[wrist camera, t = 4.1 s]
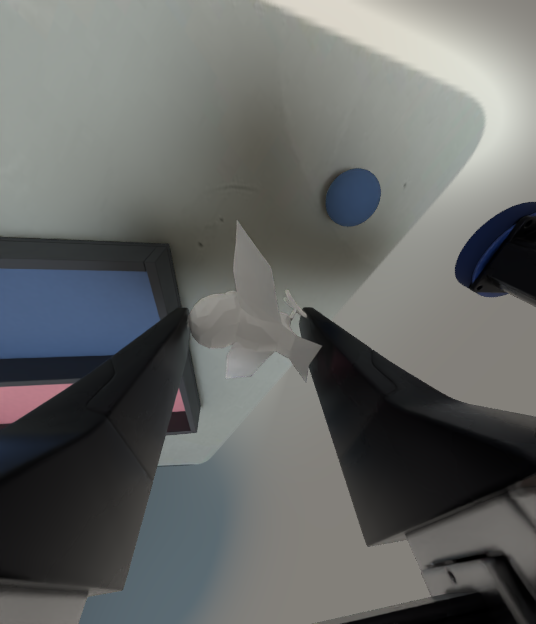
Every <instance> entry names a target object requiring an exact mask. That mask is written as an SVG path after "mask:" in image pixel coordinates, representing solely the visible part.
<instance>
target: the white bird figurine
mask: <svg viewBox="0 0 536 624" xmlns="http://www.w3.org/2000/svg"><path fill="white" fill-rule="evenodd" d="M233 274H234V279H235V283H236V292H235V291H228V292H226V293H225V294H222V293H219V294H212V295H209V296H207V297H204V298H202V299H200V300H199V301H198V302H197V303H196V304H195V305H194V307H193V308H192V310H191V312H190V313H189V315H188V319H187V322H188V325H187V328H188V327H190V330H191V333H192V336H193V337H194V339H195V340H196V341H197V342H198V343H199V344H201V345H203V346H206V347H208V348H224V347H226V346H229V345H231V344H232V346H231V349H230V351H229V353H228V355H227V367H226V378H225V379H228V378H238V377H249V376H252V375H253V374H254V373H255V372H256V371H257V370H258V368H259V367H260V366H261V365H262V364H263V363H264V362H265V360H266V359H267V358H268V357H269V356H270V355H272V354H273V353H274V352H275V351H276V352H278V353H280V354H281V355H283V356H285V357H287V358H289V360H290V361H291V362H292V364H293V365H294V367H295V368H296V369H297V371H298V372H299V374H300V375H301V376H302V378H303V379H304V381H305V382H306V381H307V375H308V368H309V364H310V363H311V362H312V360H313V359H314V357H315V356H316V354H317V353H318V351H319V350H320V348H321V347H322V346H321V345H319V344H316V343H314V342H311V341H308V340H306V339H303V338H301V337H298V336H297V335H296V334H295V333H294V332H293V331H292V329H291V328H290V324H291V321H292V319H293V317H294V315H295V313H298V314H300V315H302V316H303V317H305V318H307V314H306V313H305V312H304V311H302V310H301V309H300V307H299V306H298V305H297V303H296V302H295V301H294V299H293V298H292V296H291V294H290V292H289V290H288V289H287V290H285V293H286V295H287V297H288V299H289V300H290V301H289V300H288V299H287V297H285V298H283V299H284V301H285V302H286V303H287V304H288V305H289V306H290V307H292V308H293V311H292V313H291V314H290V316H289V315H288V314H286V313H283V312H280V311H279V309H278V303H277V297H276V291H275V285H274V279H273V273H272V268H271V267H270V265H269V264H268V262H267V261H266V260H265V258H264V257H263V255H262V254H261V253H260V251H259V250H258V248H257V247H256V246H255V244H254V243H253V241H252V240H251V239H250V237H249V236H248V234H247V233H246V232H245V230H244V229H243V227H242V226H241V225H240V223H239V222H238V220H237V228H236V245H235V255H234V263H233ZM187 322H186V323H187Z"/></svg>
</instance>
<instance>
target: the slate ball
mask: <svg viewBox="0 0 536 624" xmlns="http://www.w3.org/2000/svg"><path fill="white" fill-rule="evenodd" d="M380 196H381V189H380V184H379V182H378V180H377V178H376V177H375V175H374V174H373V173H371V172H370V171H368V170H365V169H361V168H356V169H351V170H348V171H345V172H343V173H342V174H340V175H339V176H338V177H337V178H336V179H335V180H334V181H333V182H332V184H331V185H330V187H329V189H328V192H327V195H326V210H327V213H328V215H329V217H330V218H331V219H332V220H333V221H334V222H335V223H337V224H339V225H341V226H347V227H348V226H355V225H358V224H361V223H363V222H364V221H366V220H367V219H368V218H369V217H370V216H371V215H372V214H373V213H374V212H375V210H376V208H377V206H378V204H379V201H380Z"/></svg>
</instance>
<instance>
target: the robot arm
mask: <svg viewBox="0 0 536 624" xmlns="http://www.w3.org/2000/svg"><path fill="white" fill-rule="evenodd" d="M470 290H472V291H474V292H478V293H509V294H511V295H513V296H515V297H517V298H519V299H521V300H523V301H525V302H527V303H529V304H531V305H533V306H535V307H536V216H525V217H523V218H521V219H520V220H519V221H518V222H517V224H516V225H515V226H514V228H513V229H512V230H511V232H510V233H509V234H508V236H507V237H506V239H505V240H504V241H503V243H502V244H501V245H500V247H499V248H498V249H497V251H496V252H495V254H494V255H493V256H492V258H491V259H490V260H489V262H488V263H487V264H486V266H485V267H484V269H483V270H482V271H481V273H480V274H479V275H478V277H477V278H476V279H475V281H474V282H473V284H472V285H471V287H470ZM302 311H304V312H305V313H306V314H307V318H305V317H303V316H302V315H301V317H300V322H299V327H300V332H301V337H302V338H303V339H306V340H308V341H311V342H314V343H316V344H319V345H321V346H322V347H321V348H320V350H319V351H318V353H317V354H316V356H315V357H314V359H313V360H312V362H311V363H310V364H309V369H310V372H311V375H312V378H313V382H314V385H315V388H316V391H317V394H318V397H319V400H320V403H321V406H322V409H323V412H324V415H325V418H326V422H327V425H328V427H329V431H330V434H331V437H332V440H333V443H334V446H335V449H336V453H337V456H338V458H339V462H340V465H341V468H342V471H343V475H344V478H345V480H346V484H347V487H348V490H349V493H350V496H351V499H352V502H353V505H354V508H355V511H356V515H357V518H358V520H359V524H360V527H361V530H362V533H363V536H364V539H365V542H366V545H367V546H368V547H370V546H375V545H381V544H386V543H392V542H398V541H403V540H407V541H408V543H409V545H410V547H411V550H412V552H413V554H414V556H415V559H416V561H417V563H418V565H419V567H420V570H421V574H422V576H423V578H424V581H425V583H426V585H427V588H428V590H429V592H430V595H431V597H429V598H424V599H420V600H416V601H411V602H407V603H402V604H398V605H394V606H389V607H385V608H380V609H376V610H371V611H367V612H362V613H358V614H353V615H349V616H345V617H340V618H336V619H331V620H327V621H323V622H318V623H314V624H536V417H534V416H529V415H524V414H518V413H514V412H508V411H503V410H498V409H492V408H487V407H482V406H476V405H471V404H467V403H464V402H461V401H458V400H455V399H453V398H451V397H448V396H446V395H445V394H443V393H441V392H439V391H438V390H436V389H434V388H433V387H431V386H429V385H428V384H426V383H424V382H423V381H421V380H419V379H418V378H416V377H414V376H413V375H411V374H409V373H408V372H406V371H405V370H403V369H401V368H400V367H398V366H397V365H395V364H393V363H392V362H390V361H389V360H387V359H386V358H384V357H383V356H381V355H380V354H378V353H377V352H375V351H374V350H372V349H371V348H369V347H368V346H367V345H365V344H364V343H362V342H361V341H360V340H358V339H357V338H355V337H354V336H352V335H351V334H349V333H348V332H347V331H345V330H344V329H342V328H341V327H339V326H338V325H336V324H335V323H334V322H332V321H331V320H329V319H328V318H327V317H325V316H324V315H322V314H321V313H319V312H318V311H316V310H315V309H314V308H312V307H304V308H303V309H302ZM188 315H189V310H188V308H176V309H175V310H173V311H172V312H171V313H169V314H168V315H167V316H165V317H164V318H163V319H161V320H160V321H159V322H157V323H156V324H155V325H153V326H152V327H151V328H149V329H148V330H147V331H145V332H144V333H143V334H141V335H140V336H138V337H137V338H136V339H134V340H133V341H132V342H130V343H129V344H128V345H126V346H125V347H124V348H122V349H121V350H120V351H118V352H117V353H116V354H114V355H113V356H112V357H111V359H108V360H106V361H105V362H103V363H102V364H101V365H99V366H98V367H97V368H95V369H94V370H92V371H91V372H90V373H88V374H87V375H86V376H84V377H83V378H81V379H80V380H78V381H77V382H75V383H74V384H72V385H71V386H69V387H68V388H66V389H65V390H63V391H61V392H60V393H58V394H57V395H55V396H54V397H52V398H51V399H49V400H48V401H46V402H44V403H43V404H41V405H40V406H38V407H37V408H35V409H34V410H32V411H30V412H29V413H27V414H26V415H24V416H23V417H21V418H20V419H18V420H16V421H15V422H13V423H12V424H10V425H8V426H7V427H5V428H3V429H1V430H0V624H78V623H79V620H80V617H81V614H82V611H83V608H84V605H85V602H86V599H87V597H89V596H95V595H100V594H106V593H111V592H117V591H122V590H123V588H124V585H125V582H126V578H127V575H128V571H129V568H130V564H131V560H132V556H133V553H134V549H135V546H136V542H137V538H138V534H139V531H140V527H141V524H142V520H143V517H144V513H145V509H146V505H147V502H148V498H149V495H150V491H151V487H152V484H153V479H154V476H155V472H156V469H157V465H158V461H159V458H160V454H161V451H162V447H163V443H164V440H165V436H166V432H167V429H168V425H169V421H170V418H171V414H172V411H173V407H174V403H175V400H176V396H177V392H178V389H179V385H180V381H181V378H182V374H183V370H184V367H185V363H186V359H187V353H188V345H189V338H190V331H191V330H190V327H188V328H187V325H188V322H187V319H188ZM186 322H187V323H186Z"/></svg>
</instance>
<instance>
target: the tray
mask: <svg viewBox="0 0 536 624" xmlns="http://www.w3.org/2000/svg"><path fill="white" fill-rule="evenodd" d="M176 308H181V303H180V298H179V293H178V288H177V282H176V277H175V272H174V267H173V262H172V257H171V251H170V246H169V244H159V243H134V242H108V241H83V240H57V239H32V238H6V237H0V430H1V429H3V428H5V427H7V426H8V425H10V424H12V423H13V422H15V421H16V420H18V419H20V418H21V417H23V416H24V415H26V414H27V413H29V412H30V411H32V410H34V409H35V408H37V407H38V406H40V405H41V404H43V403H44V402H46V401H48V400H49V399H51V398H52V397H54V396H55V395H57V394H58V393H60V392H61V391H63V390H65V389H66V388H68V387H69V386H71V385H72V384H74V383H75V382H77V381H78V380H80V379H81V378H83V377H84V376H86V375H87V374H88V373H90V372H91V371H92V370H94V369H95V368H97V367H98V366H99V365H101V364H102V363H103V362H105V361H106V360H108V359H111V357H112V356H113V355H114V354H116V353H117V352H118V351H120V350H121V349H122V348H124V347H125V346H126V345H128V344H129V343H130V342H132V341H133V340H134V339H136V338H137V337H138V336H140V335H141V334H143V333H144V332H145V331H147V330H148V329H149V328H151V327H152V326H153V325H155V324H156V323H157V322H159V321H160V320H161V319H163V318H164V317H165V316H167V315H168V314H169V313H171V312H172V311H173V310H175V309H176ZM200 407H201V406H200V401H199V396H198V391H197V386H196V381H195V375H194V370H193V365H192V360H191V355H190V350H189V345H188V353H187V359H186V363H185V367H184V370H183V374H182V378H181V381H180V385H179V389H178V392H177V396H176V400H175V403H174V407H173V411H172V414H171V418H170V421H169V425H168V429H167V432H166V435H177V434H188V433H197V428H198V421H199V414H200Z"/></svg>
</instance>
